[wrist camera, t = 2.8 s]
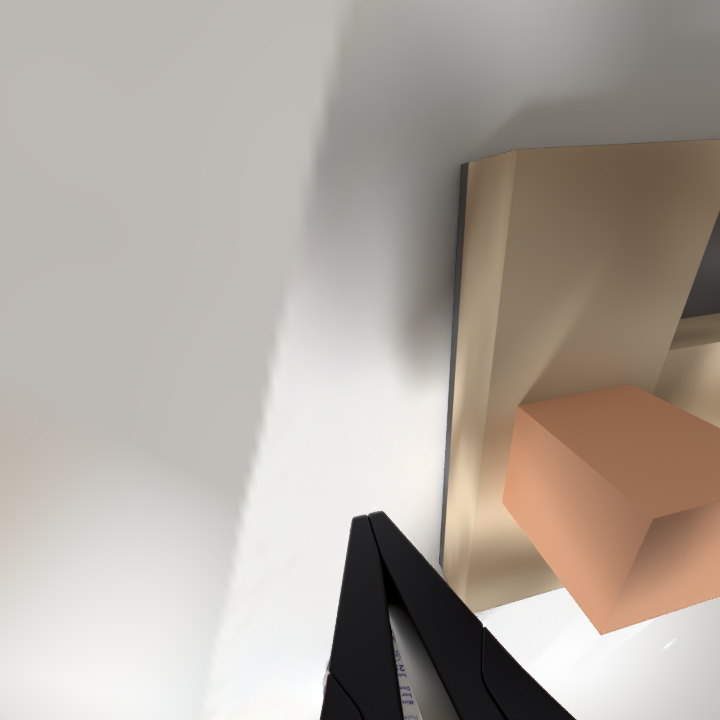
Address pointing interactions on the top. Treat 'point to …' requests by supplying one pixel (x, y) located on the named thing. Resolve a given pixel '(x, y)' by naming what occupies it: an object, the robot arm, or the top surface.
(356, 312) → the top surface
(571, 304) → the board
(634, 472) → the block
